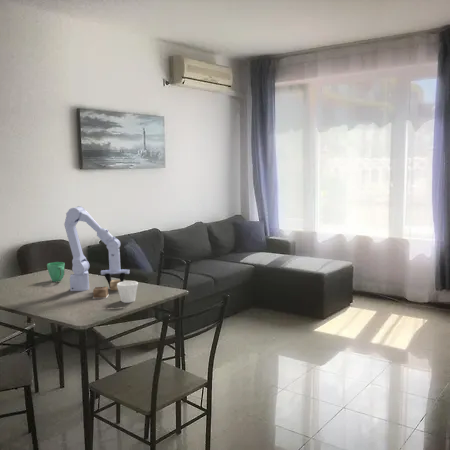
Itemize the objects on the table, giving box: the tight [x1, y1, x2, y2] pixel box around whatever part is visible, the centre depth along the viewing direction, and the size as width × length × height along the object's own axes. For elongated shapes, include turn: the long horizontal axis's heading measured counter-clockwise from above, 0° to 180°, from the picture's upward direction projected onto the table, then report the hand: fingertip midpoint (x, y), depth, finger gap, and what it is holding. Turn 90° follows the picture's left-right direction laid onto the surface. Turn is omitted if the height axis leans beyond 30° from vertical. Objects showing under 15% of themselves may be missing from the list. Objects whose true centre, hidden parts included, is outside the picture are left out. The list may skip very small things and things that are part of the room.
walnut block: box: [92, 286, 109, 299], centre depth 254 cm, size 6×6×4 cm
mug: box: [46, 261, 66, 283], centre depth 291 cm, size 15×10×10 cm
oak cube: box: [109, 279, 120, 291], centre depth 268 cm, size 5×5×5 cm
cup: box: [117, 280, 139, 304], centre depth 244 cm, size 10×10×9 cm
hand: (116, 287), depth 268 cm, fingers closed on oak cube, 5 cm apart
